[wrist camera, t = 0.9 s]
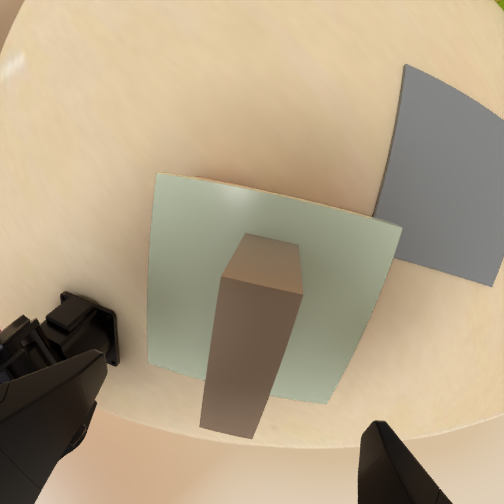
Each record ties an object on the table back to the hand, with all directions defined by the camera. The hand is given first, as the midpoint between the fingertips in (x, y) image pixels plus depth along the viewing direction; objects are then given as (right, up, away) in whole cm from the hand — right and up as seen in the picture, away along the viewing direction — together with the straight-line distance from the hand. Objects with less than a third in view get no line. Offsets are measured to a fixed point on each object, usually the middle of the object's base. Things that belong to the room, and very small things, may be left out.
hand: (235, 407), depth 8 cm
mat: (+15, +9, +8) cm, 20 cm away
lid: (+1, +2, +8) cm, 8 cm away
